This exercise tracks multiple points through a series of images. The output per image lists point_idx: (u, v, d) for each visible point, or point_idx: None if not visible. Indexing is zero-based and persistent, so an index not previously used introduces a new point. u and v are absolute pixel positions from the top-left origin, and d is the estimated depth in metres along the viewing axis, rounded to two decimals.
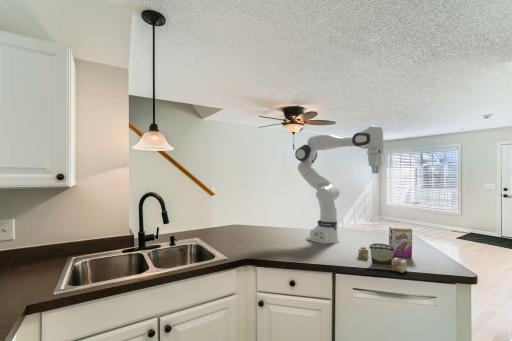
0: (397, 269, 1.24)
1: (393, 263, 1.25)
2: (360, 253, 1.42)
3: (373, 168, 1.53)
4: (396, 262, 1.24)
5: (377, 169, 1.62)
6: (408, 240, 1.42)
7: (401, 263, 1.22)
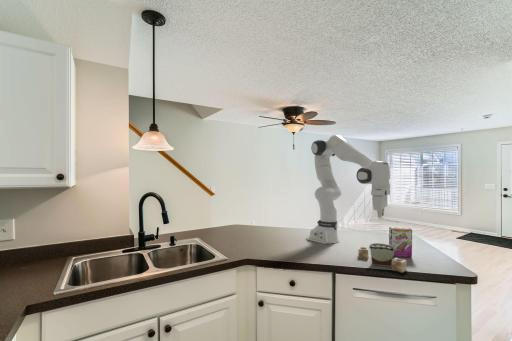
0: (397, 269, 1.24)
1: (393, 263, 1.25)
2: (360, 253, 1.42)
3: (379, 211, 1.31)
4: (396, 262, 1.24)
5: (382, 211, 1.36)
6: (408, 240, 1.42)
7: (401, 263, 1.22)
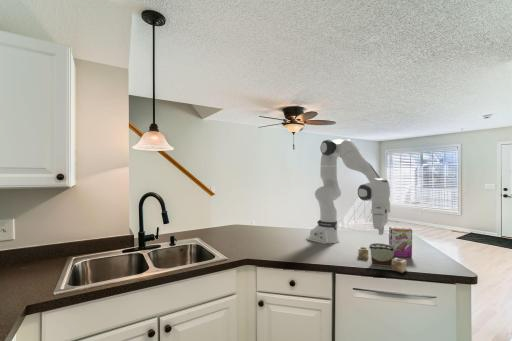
0: (397, 269, 1.24)
1: (393, 263, 1.25)
2: (360, 253, 1.42)
3: (380, 229, 1.32)
4: (396, 262, 1.24)
5: None
6: (408, 240, 1.42)
7: (401, 263, 1.22)
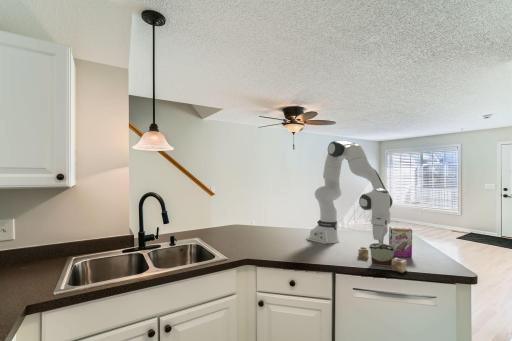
0: (397, 269, 1.24)
1: (393, 263, 1.25)
2: (360, 253, 1.42)
3: (380, 239, 1.32)
4: (396, 262, 1.24)
5: (381, 239, 1.35)
6: (408, 240, 1.42)
7: (401, 263, 1.22)
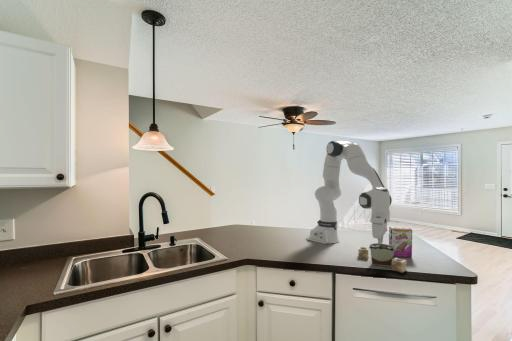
0: (397, 269, 1.24)
1: (393, 263, 1.25)
2: (360, 253, 1.42)
3: None
4: (396, 262, 1.24)
5: (381, 238, 1.35)
6: (408, 240, 1.42)
7: (401, 263, 1.22)
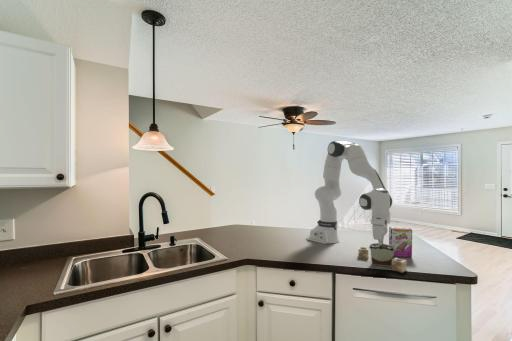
0: (397, 269, 1.24)
1: (393, 263, 1.25)
2: (360, 253, 1.42)
3: (380, 239, 1.32)
4: (396, 262, 1.24)
5: (381, 239, 1.35)
6: (408, 240, 1.42)
7: (401, 263, 1.22)
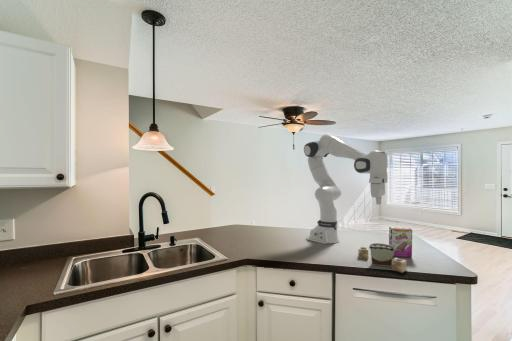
0: (397, 269, 1.24)
1: (393, 263, 1.25)
2: (360, 253, 1.42)
3: (377, 199, 1.37)
4: (396, 262, 1.24)
5: None
6: (408, 240, 1.42)
7: (401, 263, 1.22)
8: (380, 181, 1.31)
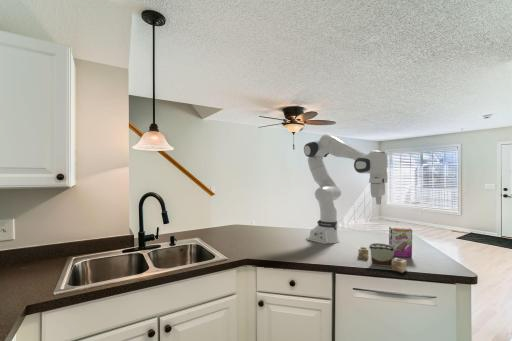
0: (397, 269, 1.24)
1: (393, 263, 1.25)
2: (360, 253, 1.42)
3: (377, 198, 1.37)
4: (396, 262, 1.24)
5: None
6: (408, 240, 1.42)
7: (401, 263, 1.22)
8: (380, 181, 1.31)
